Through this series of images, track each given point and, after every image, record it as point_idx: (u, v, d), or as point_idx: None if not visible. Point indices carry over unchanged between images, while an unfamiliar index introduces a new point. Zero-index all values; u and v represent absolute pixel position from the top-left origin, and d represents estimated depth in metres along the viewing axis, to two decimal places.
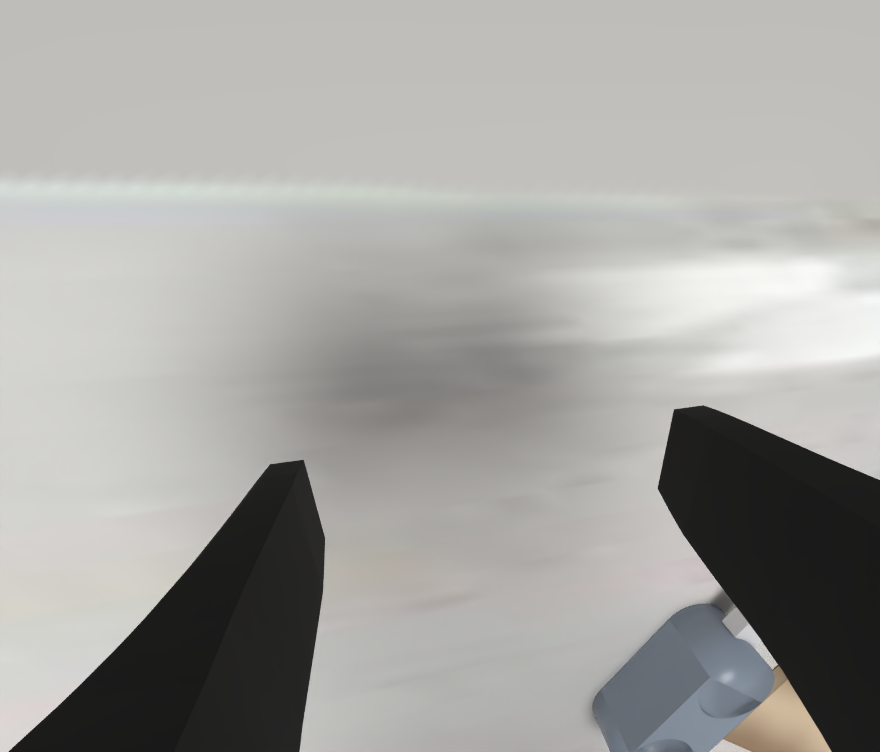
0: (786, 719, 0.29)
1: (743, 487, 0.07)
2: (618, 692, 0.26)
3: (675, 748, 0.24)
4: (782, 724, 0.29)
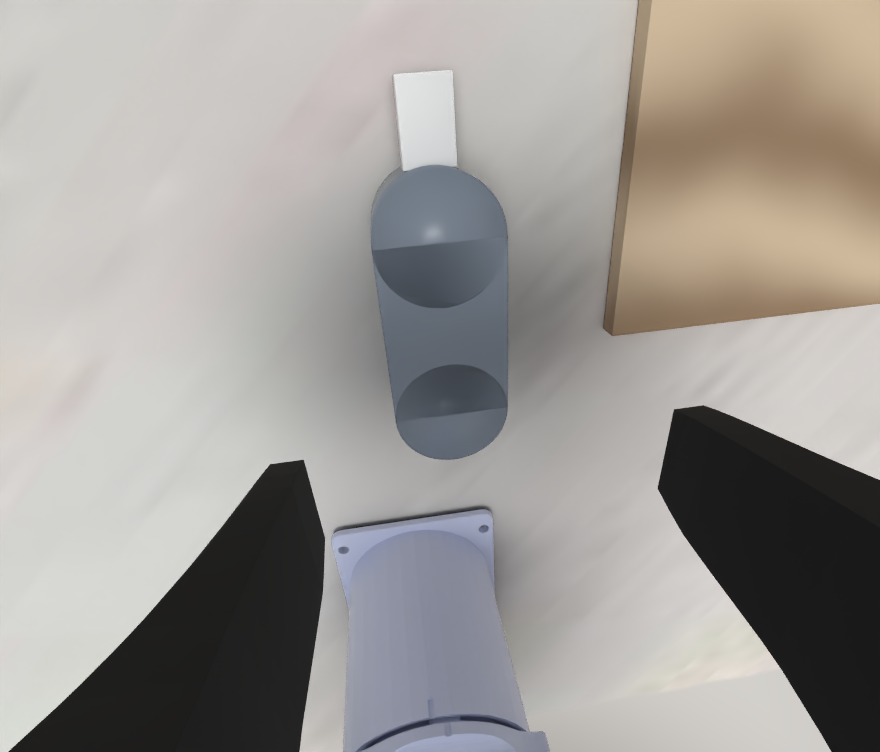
0: (691, 252, 0.18)
1: (742, 487, 0.07)
2: None
3: (450, 380, 0.16)
4: (690, 263, 0.18)
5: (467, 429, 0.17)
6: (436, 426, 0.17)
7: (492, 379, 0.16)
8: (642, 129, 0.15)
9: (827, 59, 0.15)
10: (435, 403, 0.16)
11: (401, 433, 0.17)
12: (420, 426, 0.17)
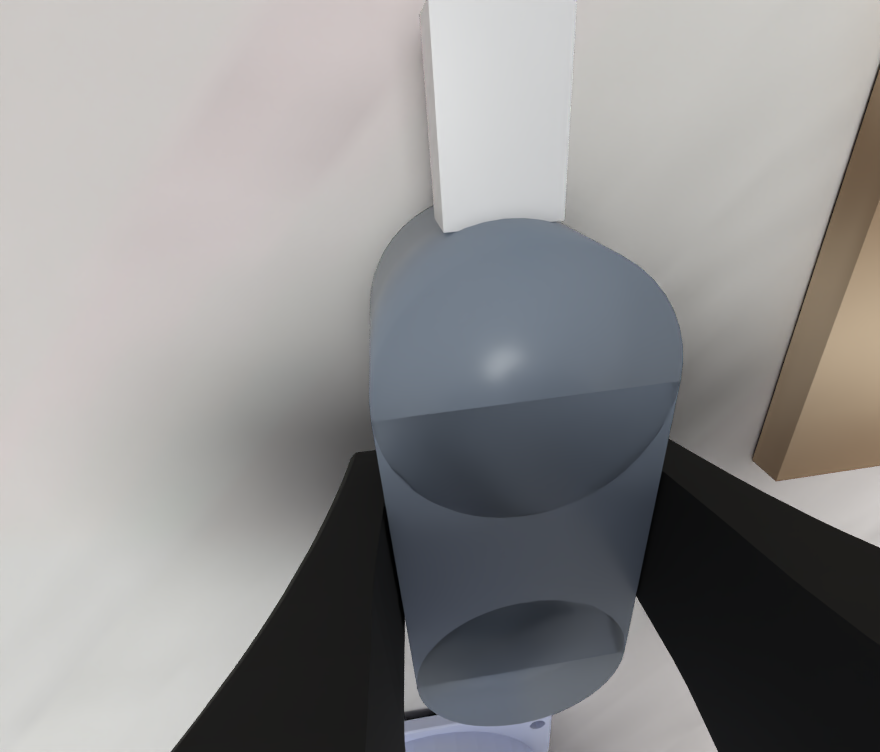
0: None
1: None
2: None
3: (524, 623, 0.08)
4: None
5: (547, 686, 0.09)
6: (492, 687, 0.09)
7: (604, 616, 0.08)
8: None
9: None
10: (493, 657, 0.08)
11: (426, 701, 0.09)
12: (462, 689, 0.09)
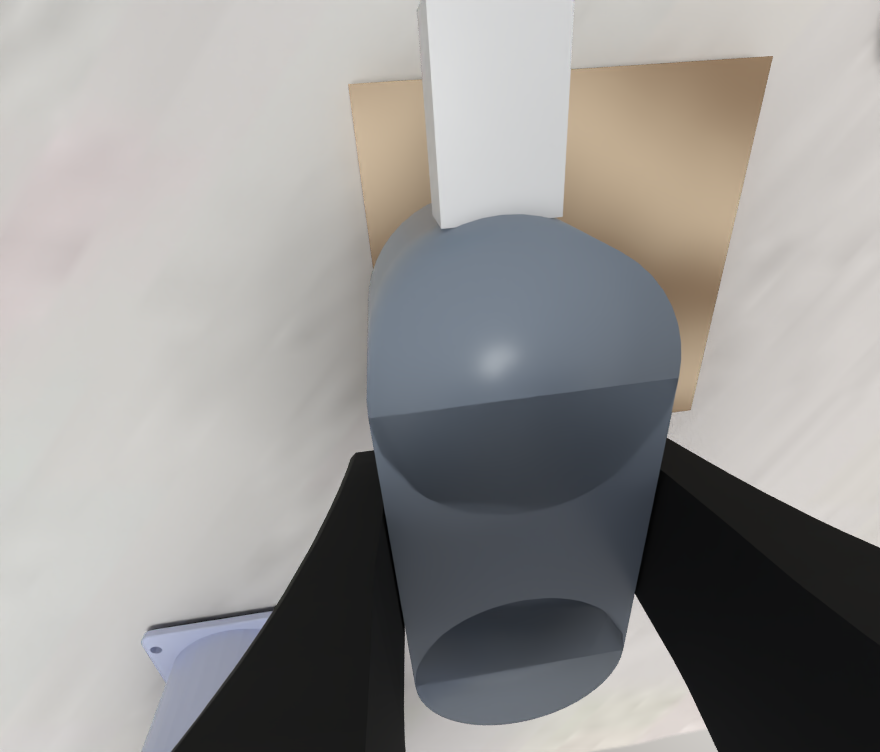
0: None
1: None
2: None
3: (522, 622, 0.08)
4: None
5: (546, 684, 0.09)
6: (491, 684, 0.09)
7: (603, 614, 0.08)
8: None
9: (568, 188, 0.14)
10: (491, 656, 0.08)
11: (425, 699, 0.09)
12: (461, 688, 0.09)
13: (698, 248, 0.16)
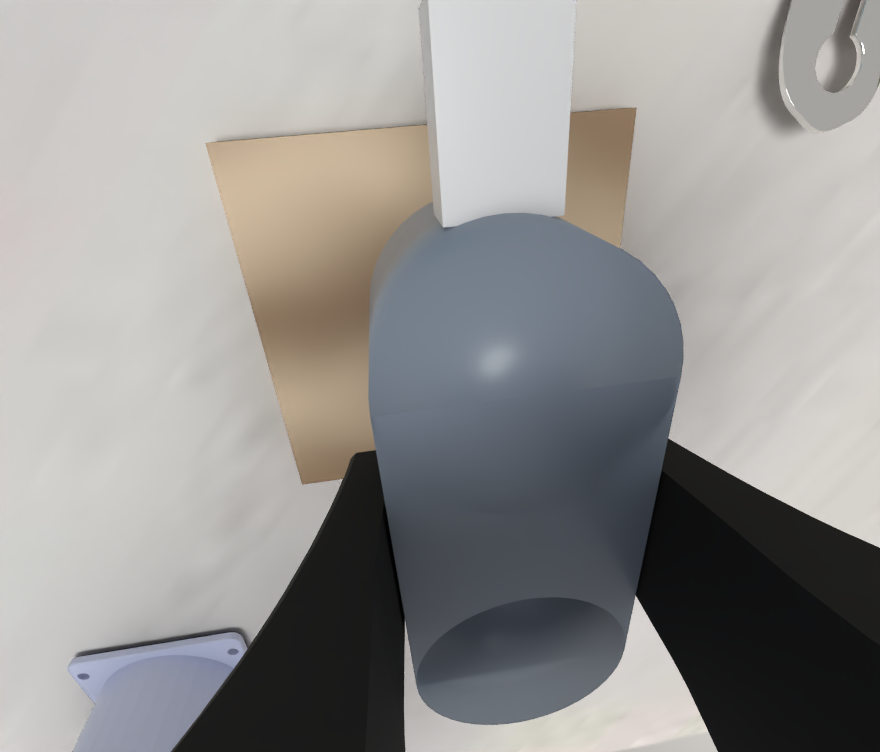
0: (360, 409, 0.17)
1: None
2: None
3: (524, 622, 0.08)
4: (363, 418, 0.17)
5: (547, 684, 0.09)
6: (492, 684, 0.09)
7: (604, 614, 0.08)
8: (258, 306, 0.15)
9: None
10: (492, 655, 0.08)
11: (426, 699, 0.09)
12: (461, 688, 0.09)
13: None
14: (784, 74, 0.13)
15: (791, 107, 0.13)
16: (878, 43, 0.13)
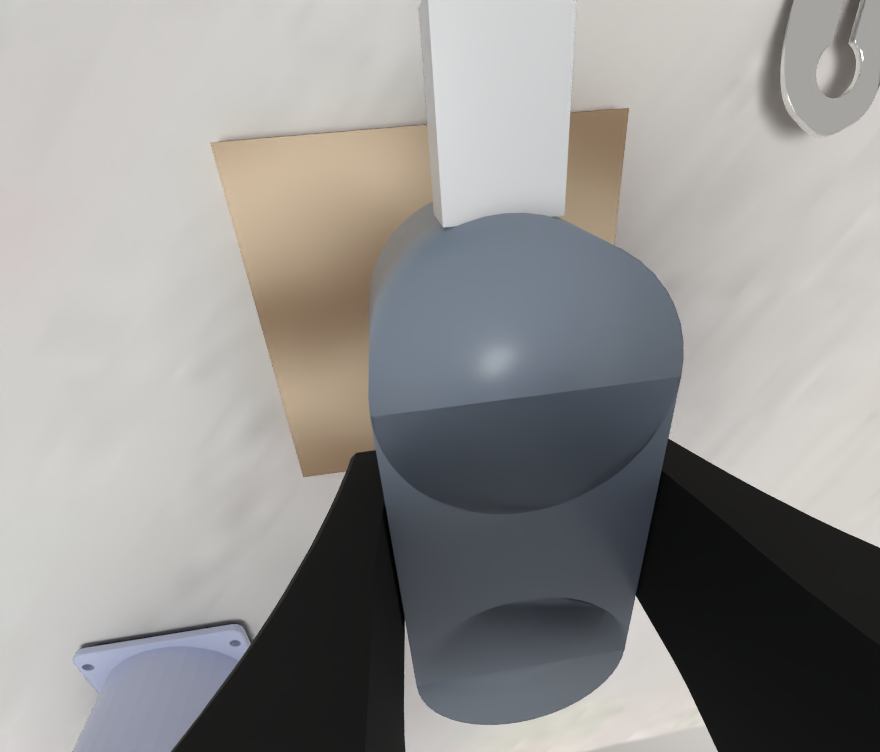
0: (360, 403, 0.17)
1: None
2: None
3: (524, 622, 0.08)
4: (363, 412, 0.18)
5: (547, 684, 0.09)
6: (492, 684, 0.09)
7: (604, 613, 0.08)
8: (260, 301, 0.15)
9: None
10: (492, 655, 0.08)
11: (426, 699, 0.09)
12: (462, 688, 0.09)
13: None
14: (786, 83, 0.14)
15: (793, 115, 0.14)
16: (876, 48, 0.14)
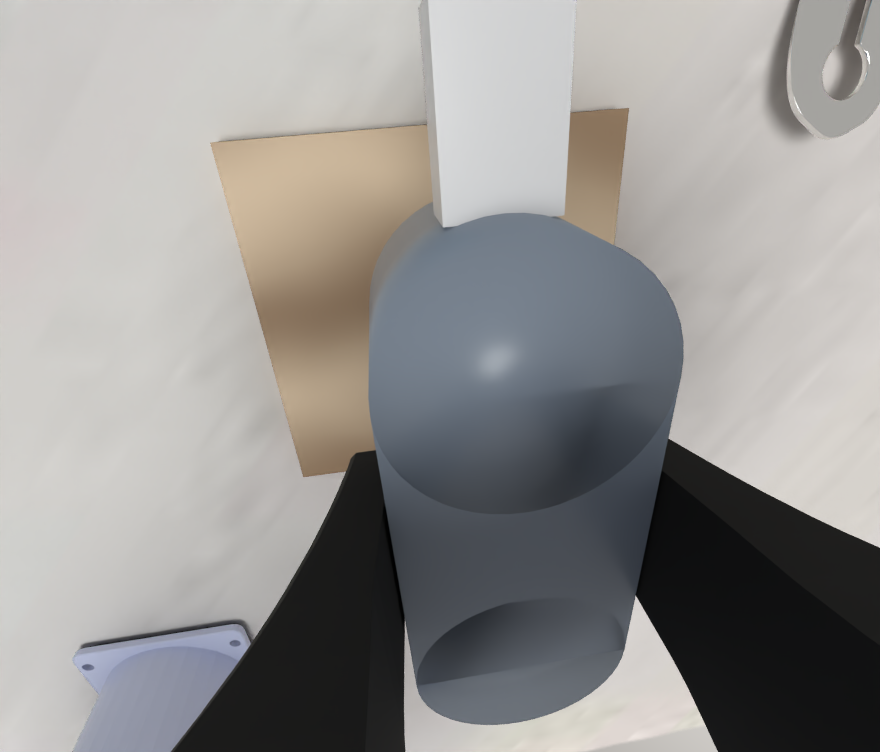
0: (360, 403, 0.17)
1: None
2: None
3: (524, 622, 0.08)
4: (363, 412, 0.18)
5: (547, 684, 0.09)
6: (492, 684, 0.09)
7: (604, 613, 0.08)
8: (260, 301, 0.15)
9: None
10: (492, 655, 0.08)
11: (426, 699, 0.09)
12: (462, 688, 0.09)
13: None
14: (792, 87, 0.14)
15: (800, 117, 0.14)
16: None
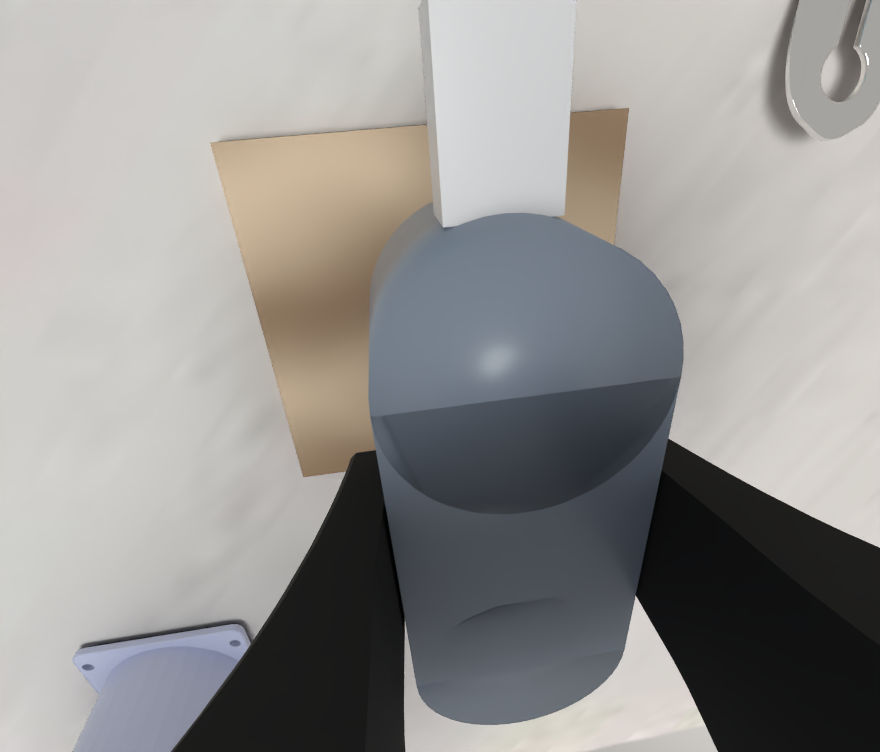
0: (360, 403, 0.17)
1: None
2: None
3: (524, 622, 0.08)
4: (363, 412, 0.18)
5: (547, 684, 0.09)
6: (492, 684, 0.09)
7: (604, 613, 0.08)
8: (260, 301, 0.15)
9: None
10: (492, 655, 0.08)
11: (426, 699, 0.09)
12: (462, 688, 0.09)
13: None
14: (791, 88, 0.14)
15: (799, 119, 0.14)
16: None
